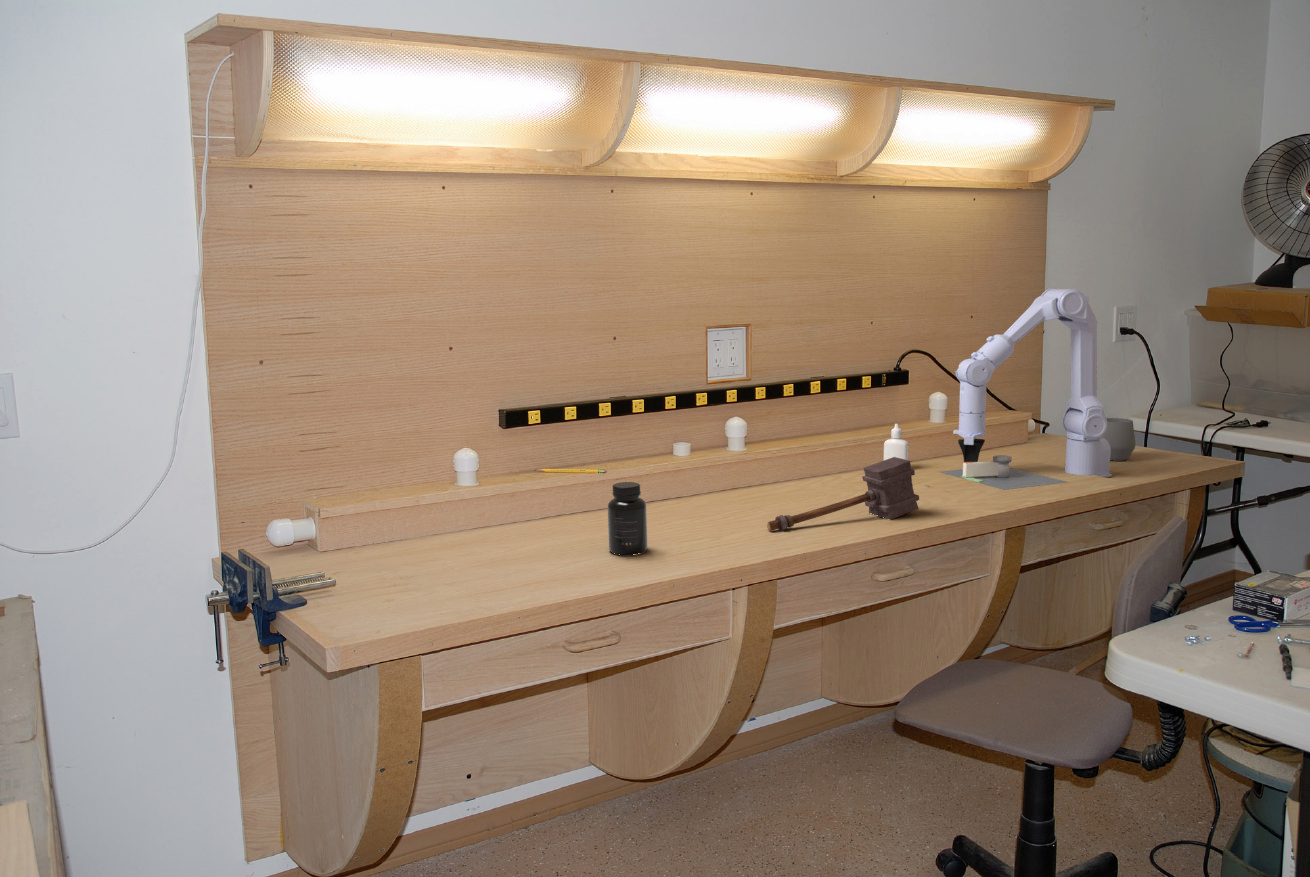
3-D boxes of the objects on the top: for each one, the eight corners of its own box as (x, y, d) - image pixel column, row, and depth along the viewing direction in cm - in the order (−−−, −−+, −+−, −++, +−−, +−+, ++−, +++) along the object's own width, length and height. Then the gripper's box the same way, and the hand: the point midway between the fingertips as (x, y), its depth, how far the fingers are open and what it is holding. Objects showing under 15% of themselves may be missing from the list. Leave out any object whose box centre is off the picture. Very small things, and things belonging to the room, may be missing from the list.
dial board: (998, 469, 240) (999, 463, 240) (1068, 486, 220) (1068, 480, 220) (938, 475, 233) (938, 470, 233) (1004, 494, 213) (1004, 488, 213)
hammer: (921, 508, 196) (915, 460, 194) (783, 562, 184) (774, 511, 181) (899, 501, 202) (893, 455, 200) (764, 553, 190) (755, 504, 187)
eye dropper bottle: (894, 470, 240) (895, 421, 238) (910, 474, 236) (912, 424, 234) (880, 472, 238) (881, 423, 236) (896, 476, 233) (897, 426, 231)
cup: (1085, 457, 253) (1087, 418, 252) (1116, 455, 256) (1119, 416, 254) (1110, 463, 244) (1113, 423, 243) (1143, 461, 247) (1145, 421, 245)
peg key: (1005, 474, 229) (1006, 454, 228) (1014, 477, 225) (1014, 458, 224) (960, 476, 227) (961, 456, 226) (968, 479, 223) (969, 460, 222)
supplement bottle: (610, 545, 178) (608, 480, 176) (648, 545, 177) (647, 480, 175) (607, 556, 171) (605, 488, 169) (646, 556, 171) (645, 488, 169)
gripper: (957, 407, 233) (955, 463, 235) (950, 415, 220) (949, 475, 222) (988, 408, 230) (986, 465, 233) (984, 417, 217) (982, 477, 219)
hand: (970, 470), depth 227 cm, fingers closed, pressing on peg key
